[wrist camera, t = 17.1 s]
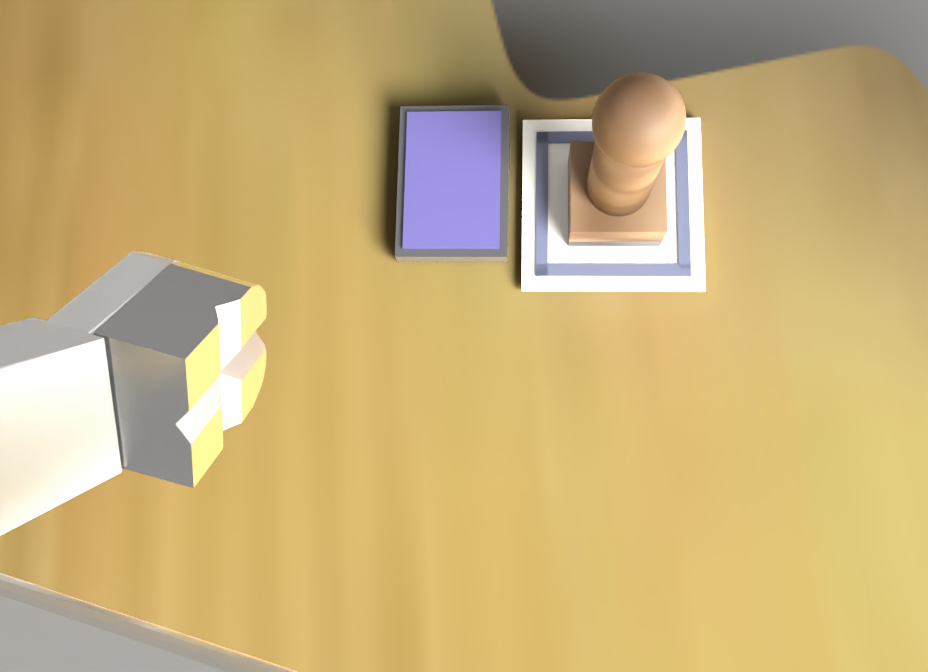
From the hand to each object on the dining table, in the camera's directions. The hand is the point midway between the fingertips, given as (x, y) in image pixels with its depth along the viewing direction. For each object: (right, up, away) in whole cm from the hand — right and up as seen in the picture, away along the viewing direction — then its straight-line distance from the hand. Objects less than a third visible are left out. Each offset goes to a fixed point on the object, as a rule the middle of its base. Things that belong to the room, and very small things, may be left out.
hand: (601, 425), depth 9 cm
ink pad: (-2, +9, +34) cm, 35 cm away
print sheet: (+6, +8, +33) cm, 34 cm away
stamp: (+6, +8, +33) cm, 34 cm away
